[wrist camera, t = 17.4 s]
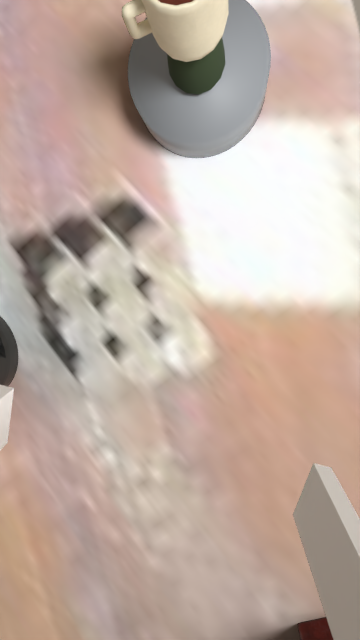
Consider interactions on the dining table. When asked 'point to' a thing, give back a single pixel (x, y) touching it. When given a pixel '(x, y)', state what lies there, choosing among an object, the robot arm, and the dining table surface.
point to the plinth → (211, 106)
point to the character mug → (184, 37)
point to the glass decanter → (315, 630)
